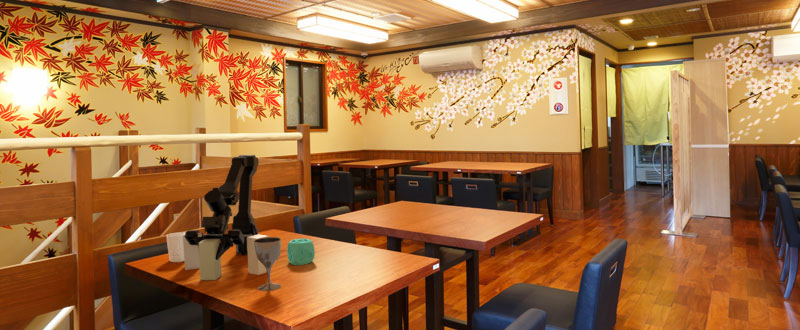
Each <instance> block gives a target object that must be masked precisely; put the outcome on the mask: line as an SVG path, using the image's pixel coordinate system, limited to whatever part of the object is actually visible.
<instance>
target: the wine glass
mask: <svg viewBox="0 0 800 330" xmlns="http://www.w3.org/2000/svg"><path fill="white" fill-rule="evenodd" d="M281 239H282V238H281V237H277V236H268V237H264V238H259V239H256V240H254V247H255V253H256V256H257V259H258V260H259V261H260V262H261V263H262V264H263V265H264V266H265V268H266V270H267V272H266V275H267V283H263V284H261V285H259V286H257V290H258V291H263V292H269V291H275V290H278V289H280V288H282V285H281V284H279V283H273V282H272V281H271V271H272V268H273V266H274V264H275V263H276V261H277V260H278V259H279V257H280V255H281V250H282V249H281V248H282V247H281V246H282V240H281Z"/></svg>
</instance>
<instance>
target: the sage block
mask: <svg viewBox="0 0 800 330" xmlns="http://www.w3.org/2000/svg"><path fill="white" fill-rule="evenodd" d="M219 245H220V239H205V240H203V241H201V242H199V260H200V268H199V276H200V281H216V280H217V279H219V278H220V277H222V263H221V261H222V259H221V257H222V256H221V257H220V258H219V259H218V260H216V254H217V251H218V248H219Z"/></svg>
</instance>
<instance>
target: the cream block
mask: <svg viewBox="0 0 800 330" xmlns="http://www.w3.org/2000/svg"><path fill="white" fill-rule="evenodd" d="M264 237H269V235H267V234H266V235H264V234H259V233H258V235H254V236H250V237H247V252H248V254H247V272H248V274H251V275H257V276H259V275H263V274H267V270H266V268H265V266H264V265H263V264H262V263H261V262H260V261H259V260H258V259H257V256H256V253H255V247H254V240H256V239H259V238H264Z"/></svg>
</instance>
